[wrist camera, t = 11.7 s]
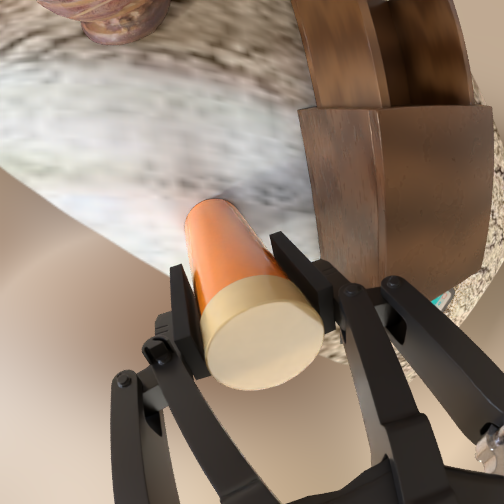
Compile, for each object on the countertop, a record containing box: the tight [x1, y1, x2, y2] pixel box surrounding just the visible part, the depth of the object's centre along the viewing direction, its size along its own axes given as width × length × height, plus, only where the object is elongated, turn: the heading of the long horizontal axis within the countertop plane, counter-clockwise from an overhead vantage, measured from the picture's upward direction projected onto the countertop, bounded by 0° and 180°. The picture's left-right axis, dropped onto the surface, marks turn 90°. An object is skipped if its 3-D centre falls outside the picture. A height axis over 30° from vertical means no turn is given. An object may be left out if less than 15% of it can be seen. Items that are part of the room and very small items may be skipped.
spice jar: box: [185, 199, 325, 390], centre depth 18 cm, size 5×5×15 cm
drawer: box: [291, 0, 475, 108], centre depth 14 cm, size 19×12×9 cm, turn 13°
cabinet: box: [297, 104, 494, 302], centre depth 22 cm, size 16×14×11 cm
